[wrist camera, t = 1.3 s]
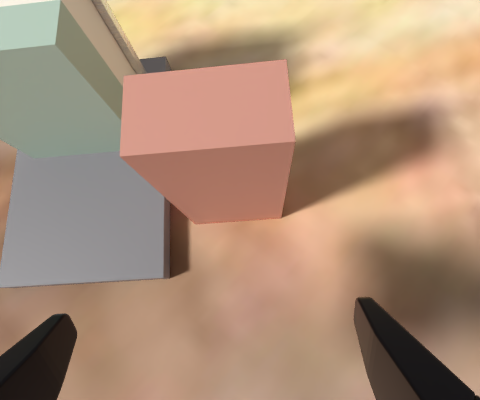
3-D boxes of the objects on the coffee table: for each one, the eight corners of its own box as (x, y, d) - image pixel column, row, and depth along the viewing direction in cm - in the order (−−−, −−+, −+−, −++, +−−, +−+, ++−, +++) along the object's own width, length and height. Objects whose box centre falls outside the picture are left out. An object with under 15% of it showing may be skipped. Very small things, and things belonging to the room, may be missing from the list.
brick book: (281, 218, 24) (295, 141, 12) (195, 224, 24) (119, 156, 12) (277, 174, 25) (286, 59, 13) (194, 180, 25) (123, 75, 13)
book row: (145, 148, 25) (55, 44, 14) (33, 158, 25) (-133, 64, 15) (147, 92, 26) (65, -42, 16) (41, 102, 27) (-107, -20, 16)
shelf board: (169, 278, 24) (163, 277, 22) (13, 287, 24) (-3, 287, 23) (170, 68, 28) (165, 56, 27) (40, 81, 29) (28, 71, 28)
